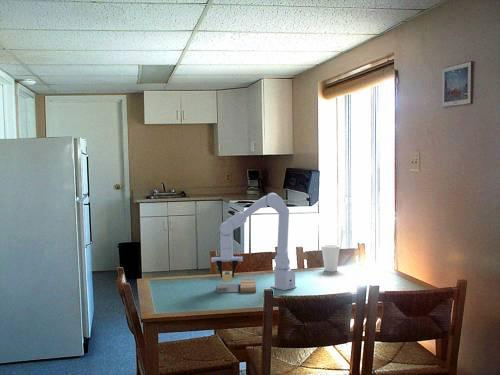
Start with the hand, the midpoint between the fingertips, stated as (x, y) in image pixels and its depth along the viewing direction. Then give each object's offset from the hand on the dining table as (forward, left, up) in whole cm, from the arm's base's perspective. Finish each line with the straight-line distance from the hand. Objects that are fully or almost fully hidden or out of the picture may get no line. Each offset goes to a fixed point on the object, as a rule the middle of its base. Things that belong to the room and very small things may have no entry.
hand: (227, 277), depth 272 cm
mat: (0, 0, -6) cm, 6 cm away
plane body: (-6, -7, -6) cm, 11 cm away
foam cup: (-6, -65, -6) cm, 65 cm away
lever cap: (0, 0, -2) cm, 2 cm away
